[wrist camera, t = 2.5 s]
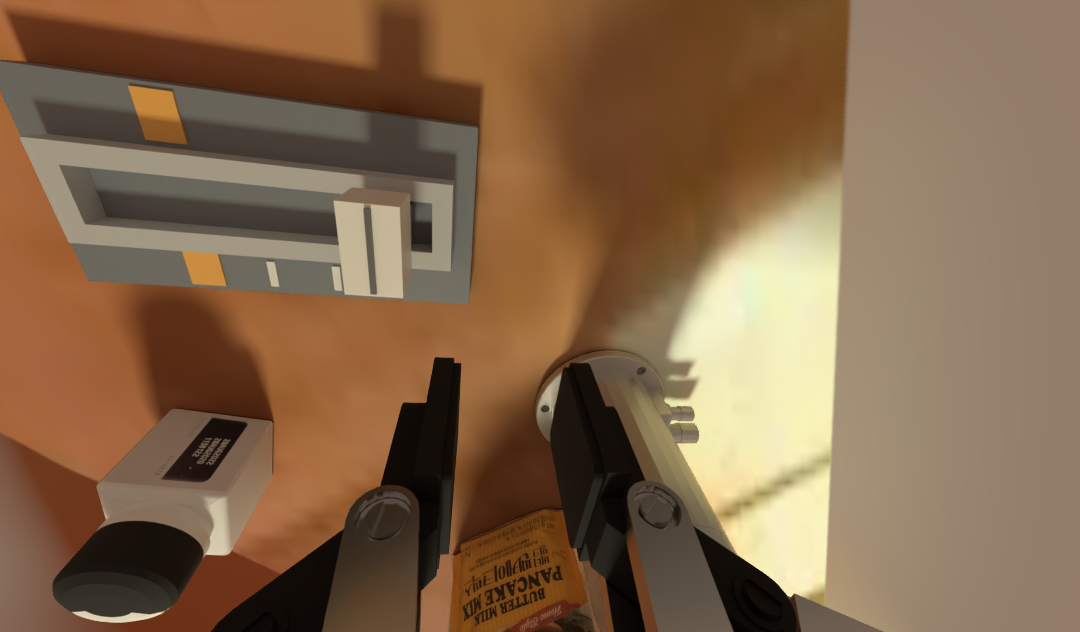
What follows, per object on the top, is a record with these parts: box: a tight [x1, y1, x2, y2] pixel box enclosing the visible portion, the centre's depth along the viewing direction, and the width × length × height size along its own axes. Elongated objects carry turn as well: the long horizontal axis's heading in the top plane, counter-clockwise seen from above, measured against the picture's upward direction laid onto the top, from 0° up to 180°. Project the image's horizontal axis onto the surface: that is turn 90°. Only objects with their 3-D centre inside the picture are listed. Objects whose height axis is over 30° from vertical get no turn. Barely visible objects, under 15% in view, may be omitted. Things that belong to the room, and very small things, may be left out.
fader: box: [334, 187, 414, 298], centre depth 22 cm, size 3×5×6 cm, turn 172°
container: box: [53, 409, 273, 622], centre depth 30 cm, size 8×8×13 cm
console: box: [0, 60, 479, 304], centre depth 24 cm, size 24×12×4 cm, turn 82°
